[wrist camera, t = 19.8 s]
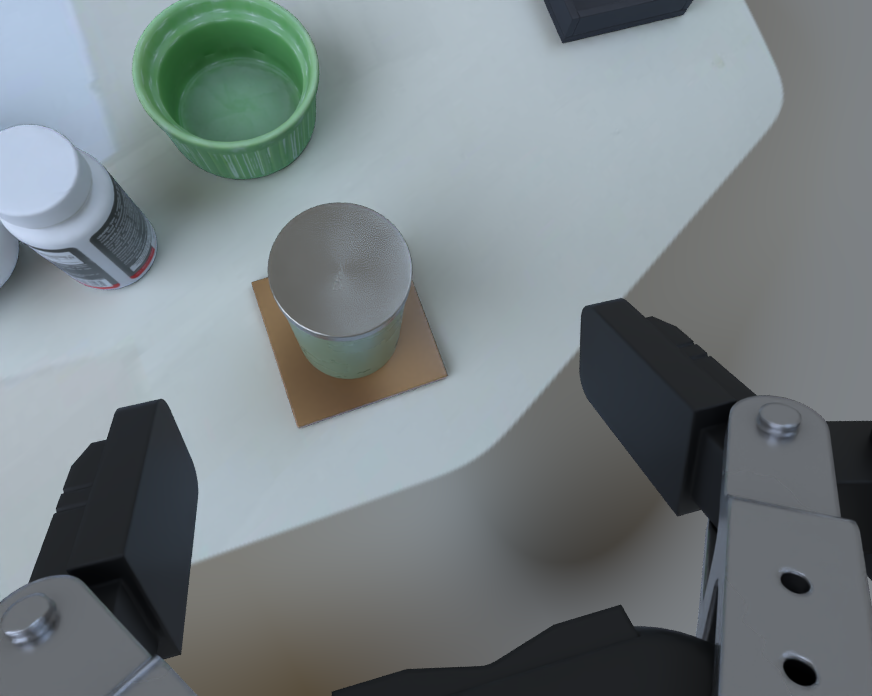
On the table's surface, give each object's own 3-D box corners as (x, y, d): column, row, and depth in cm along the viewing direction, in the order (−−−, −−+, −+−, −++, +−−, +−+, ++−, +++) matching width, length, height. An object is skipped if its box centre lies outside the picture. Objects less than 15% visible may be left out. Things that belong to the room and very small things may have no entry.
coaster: (396, 242, 34) (396, 238, 33) (446, 377, 33) (448, 375, 32) (252, 285, 33) (250, 281, 32) (298, 429, 31) (297, 427, 31)
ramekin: (177, 206, 33) (149, 164, 29) (147, 63, 35) (116, 3, 31) (341, 172, 35) (337, 127, 30) (304, 37, 36) (295, -24, 32)
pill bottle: (134, 192, 33) (57, 94, 25) (175, 264, 32) (110, 188, 24) (47, 233, 32) (-62, 144, 24) (88, 308, 31) (-10, 243, 23)
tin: (418, 308, 33) (436, 240, 24) (371, 399, 31) (372, 362, 23) (327, 263, 33) (311, 178, 24) (276, 351, 31) (240, 296, 23)
